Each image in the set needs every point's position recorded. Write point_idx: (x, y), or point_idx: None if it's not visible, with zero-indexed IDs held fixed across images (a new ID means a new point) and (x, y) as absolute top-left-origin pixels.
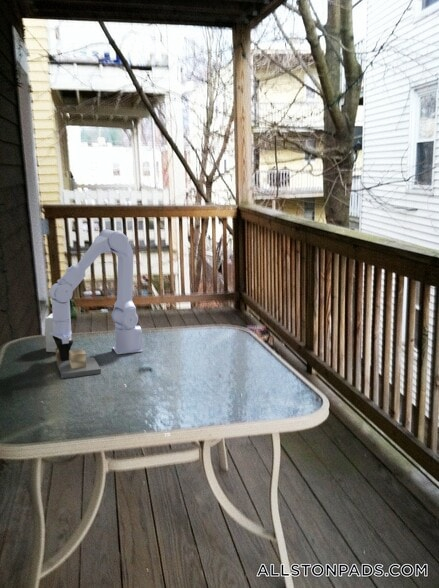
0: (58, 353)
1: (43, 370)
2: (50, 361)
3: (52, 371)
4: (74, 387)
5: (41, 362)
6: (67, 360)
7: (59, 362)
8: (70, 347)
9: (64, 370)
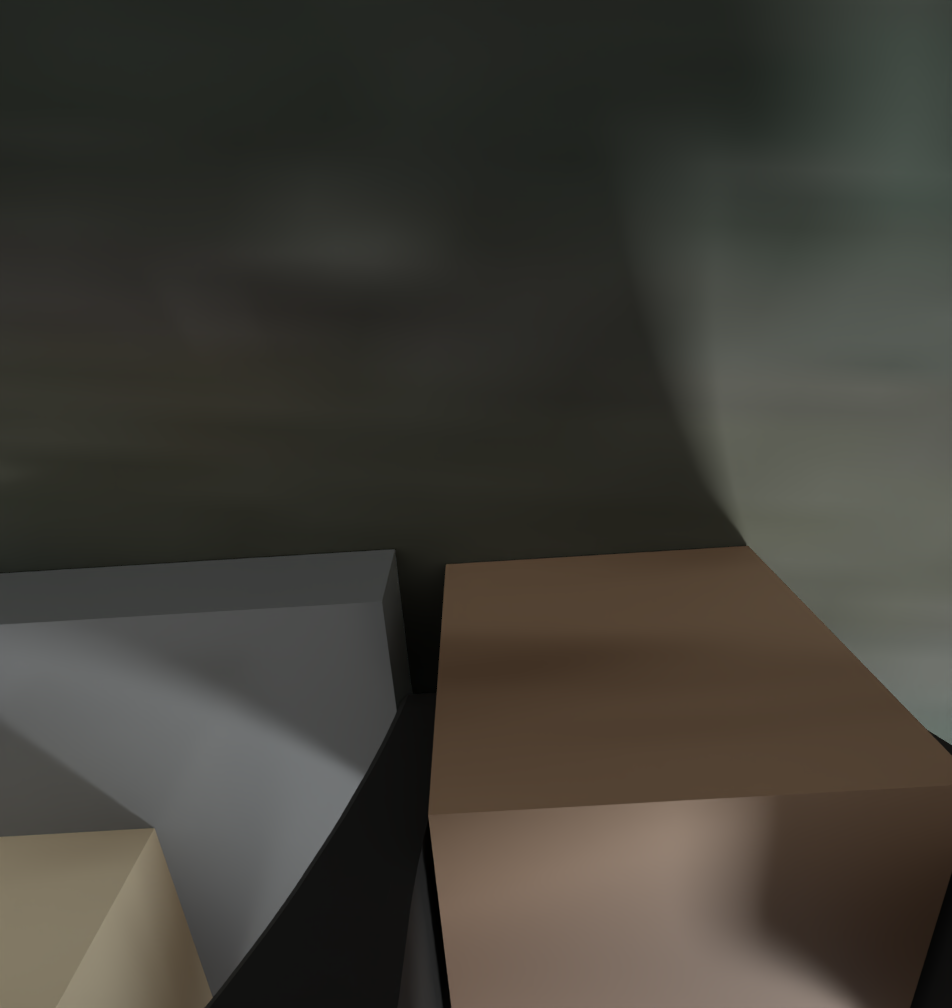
0: (432, 802)
1: (135, 214)
2: (775, 422)
3: (41, 431)
4: None
5: (807, 186)
6: None
7: (301, 648)
8: None
9: None
